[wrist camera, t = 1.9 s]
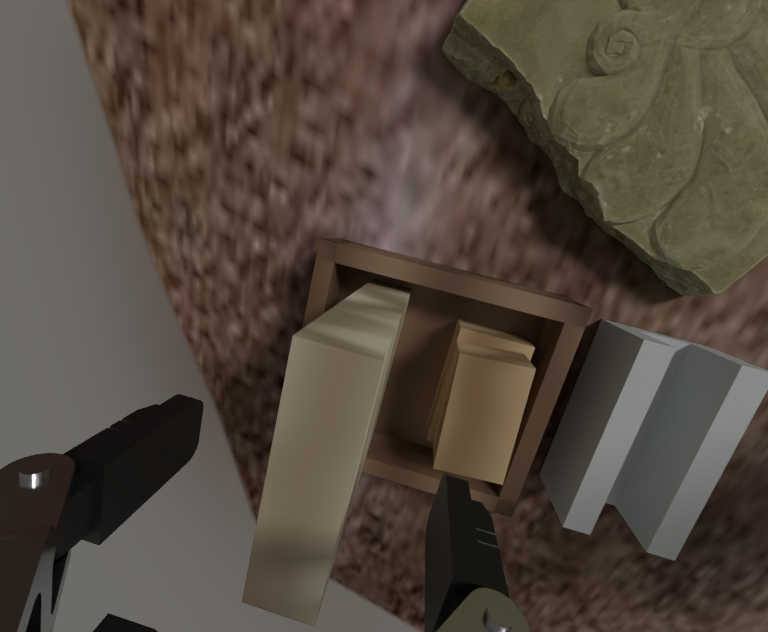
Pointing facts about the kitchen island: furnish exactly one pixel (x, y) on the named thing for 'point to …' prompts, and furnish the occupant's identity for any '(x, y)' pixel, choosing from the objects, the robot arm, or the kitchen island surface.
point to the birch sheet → (321, 447)
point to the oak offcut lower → (479, 336)
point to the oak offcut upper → (481, 411)
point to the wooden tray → (429, 351)
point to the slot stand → (649, 433)
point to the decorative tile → (641, 118)
